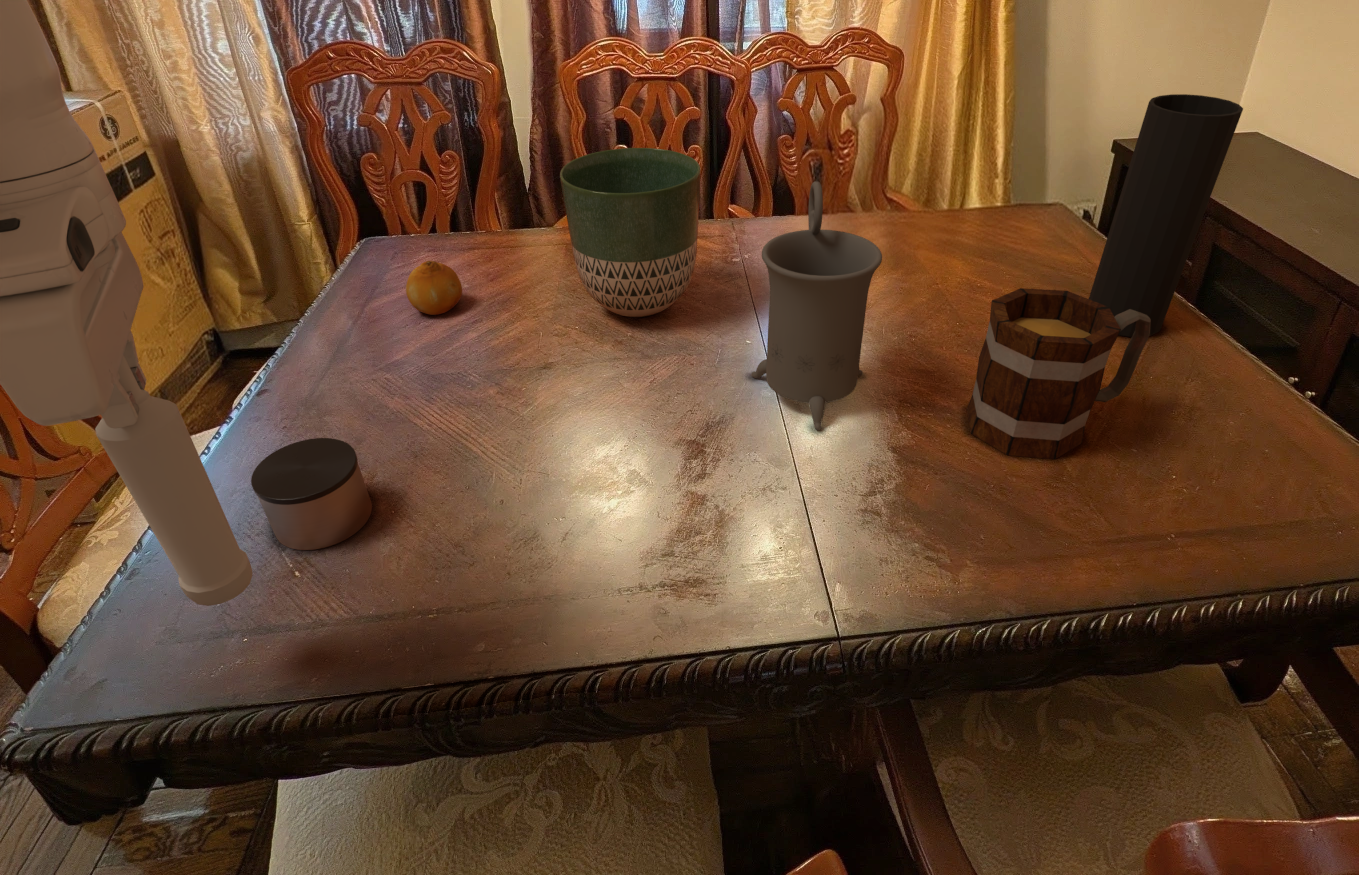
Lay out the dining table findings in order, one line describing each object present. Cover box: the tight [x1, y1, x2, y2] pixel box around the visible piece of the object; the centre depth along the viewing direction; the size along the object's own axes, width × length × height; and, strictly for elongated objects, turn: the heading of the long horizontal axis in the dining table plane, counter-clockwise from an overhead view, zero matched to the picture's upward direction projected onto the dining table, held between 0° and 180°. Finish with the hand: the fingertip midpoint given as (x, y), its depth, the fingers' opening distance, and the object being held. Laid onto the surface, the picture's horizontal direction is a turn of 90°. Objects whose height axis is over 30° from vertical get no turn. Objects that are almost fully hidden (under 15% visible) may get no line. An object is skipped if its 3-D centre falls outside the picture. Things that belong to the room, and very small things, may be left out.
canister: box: [250, 437, 373, 551], centre depth 84 cm, size 10×10×7 cm
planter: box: [559, 147, 701, 318], centre depth 118 cm, size 20×20×21 cm
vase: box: [1088, 93, 1244, 338], centre depth 108 cm, size 10×10×30 cm
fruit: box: [405, 260, 463, 316], centre depth 124 cm, size 8×8×8 cm
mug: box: [966, 287, 1151, 460], centre depth 93 cm, size 20×14×15 cm
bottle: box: [94, 355, 253, 607], centre depth 59 cm, size 5×5×25 cm
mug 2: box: [750, 180, 883, 431], centre depth 97 cm, size 19×15×25 cm
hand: (129, 406), depth 55 cm, fingers closed on bottle, 3 cm apart
